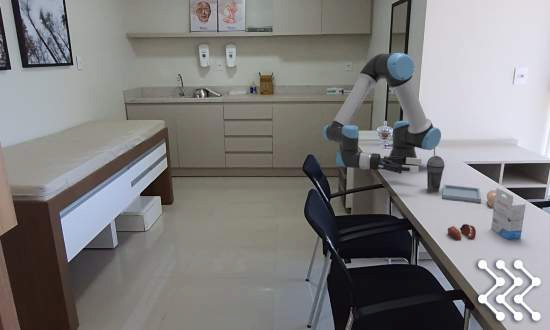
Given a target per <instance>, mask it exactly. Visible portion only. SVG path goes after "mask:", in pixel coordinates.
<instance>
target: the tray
mask: <svg viewBox="0 0 550 330" xmlns="http://www.w3.org/2000/svg"><path fill="white" fill-rule="evenodd" d="M442 188H443V189H442V190H443V191H442V200H447V201H449V200H451V201H458V202H467V203H475V204H481V202H482V196H481V190H480V188H479V187H472V186H471V187H470V186H460V185H454V184H453V185H451V184H443V187H442Z"/></svg>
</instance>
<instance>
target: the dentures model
mask: <svg viewBox="0 0 550 330" xmlns="http://www.w3.org/2000/svg"><path fill="white" fill-rule="evenodd" d="M447 233H448V234H449V235H450V236H451V237H453V238H454V239H455V240H457V241H461V240H462V237H463V235H465V236H467V237H468V238H469V239H470V240H474V239H475V237H476V235H477V230H476V227H475V226H473V225H471V224H468V223H463V225H461V227H460V228H458V226H456V225H452V226H450V227H448V228H447Z"/></svg>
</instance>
